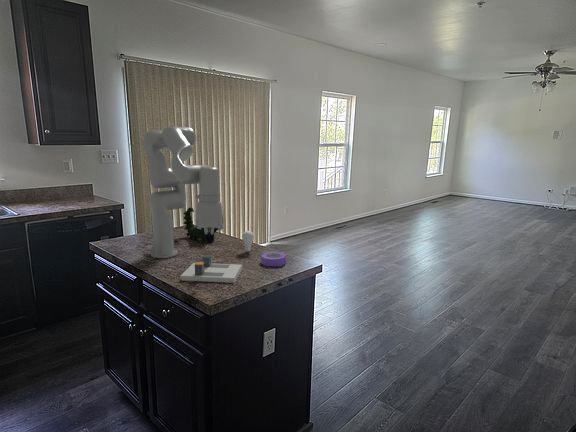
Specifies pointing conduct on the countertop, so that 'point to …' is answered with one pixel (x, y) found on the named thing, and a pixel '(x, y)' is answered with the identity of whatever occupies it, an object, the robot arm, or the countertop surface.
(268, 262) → the masking tape
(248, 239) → the lightbulb
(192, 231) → the toy figurine
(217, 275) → the board
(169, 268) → the countertop surface
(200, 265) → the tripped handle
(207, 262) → the on handle
